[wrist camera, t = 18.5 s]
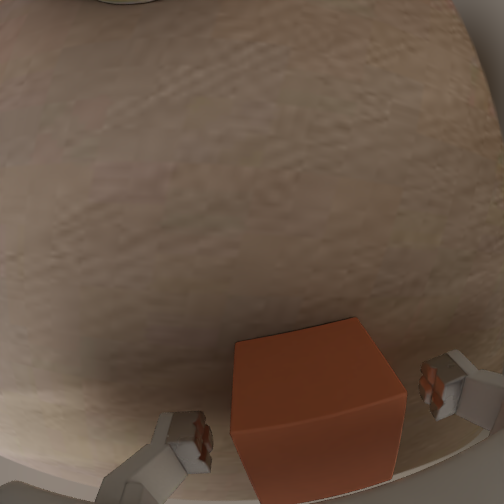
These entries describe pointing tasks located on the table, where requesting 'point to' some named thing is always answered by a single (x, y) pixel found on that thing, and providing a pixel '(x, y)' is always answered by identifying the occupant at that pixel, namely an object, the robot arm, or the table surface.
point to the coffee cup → (125, 1)
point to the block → (315, 413)
